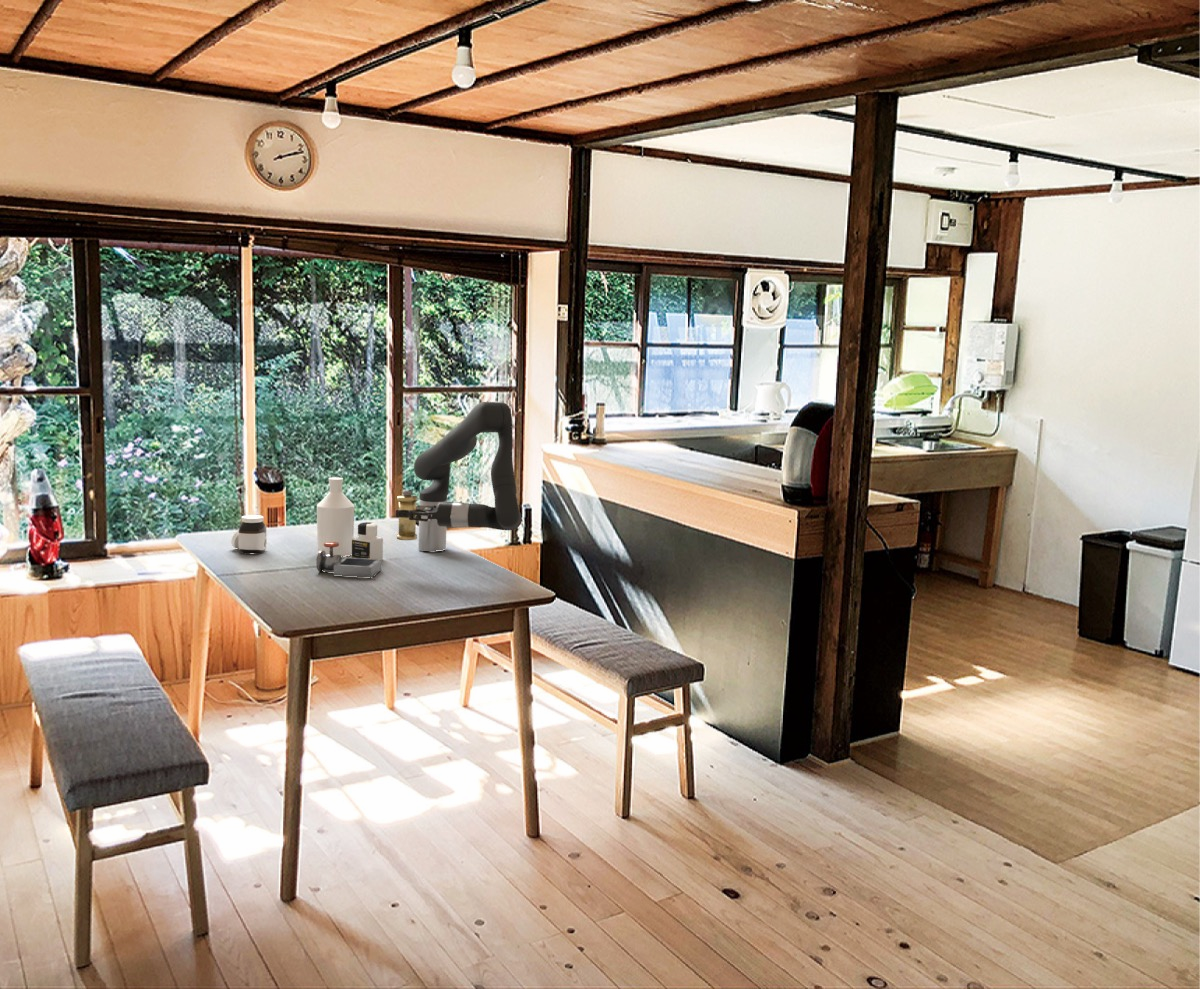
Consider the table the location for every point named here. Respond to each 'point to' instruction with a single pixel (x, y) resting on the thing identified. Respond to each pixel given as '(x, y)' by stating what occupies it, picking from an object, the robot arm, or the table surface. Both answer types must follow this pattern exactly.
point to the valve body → (405, 524)
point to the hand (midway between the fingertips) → (398, 511)
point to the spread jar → (251, 535)
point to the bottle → (335, 520)
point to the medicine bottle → (367, 542)
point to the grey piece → (346, 564)
